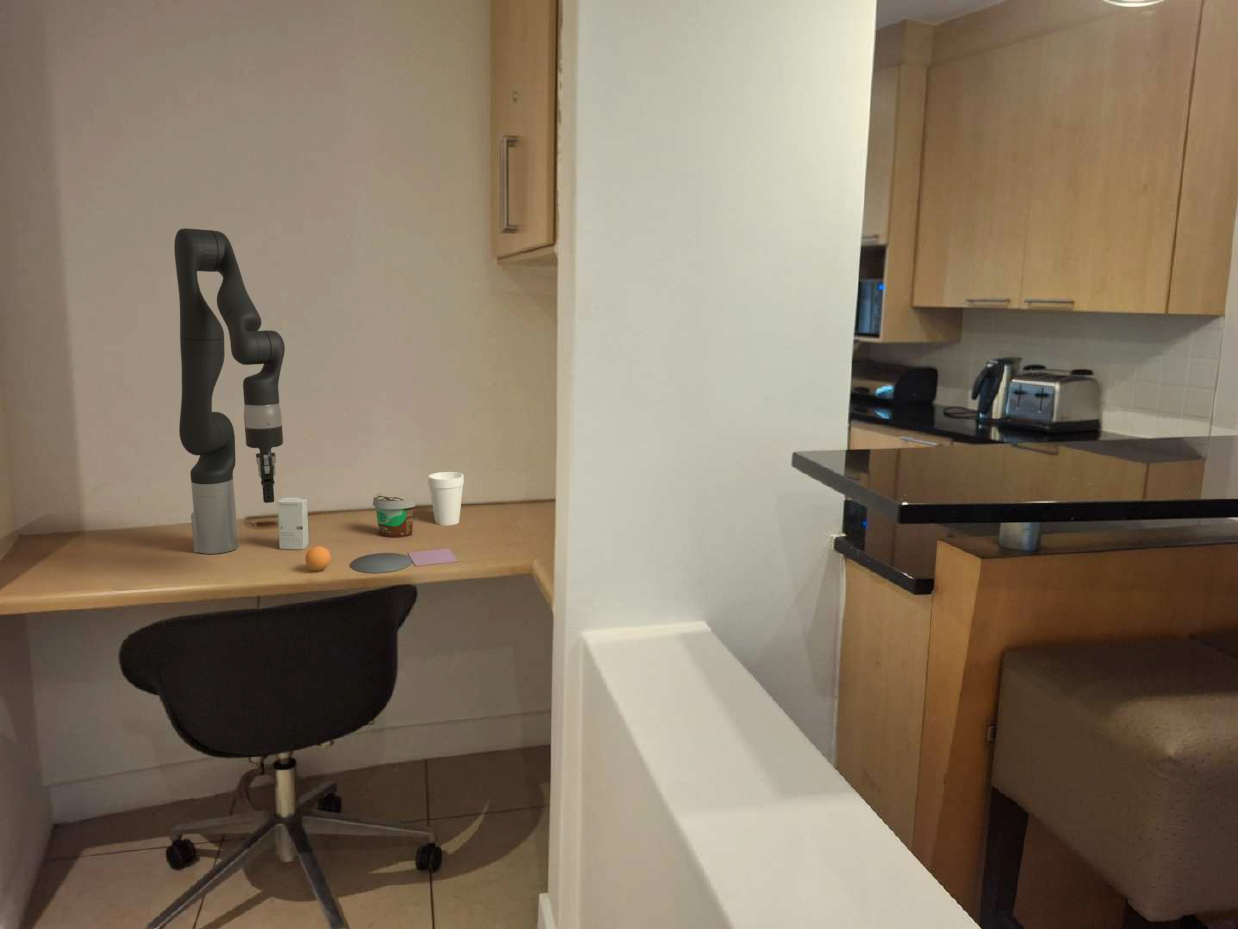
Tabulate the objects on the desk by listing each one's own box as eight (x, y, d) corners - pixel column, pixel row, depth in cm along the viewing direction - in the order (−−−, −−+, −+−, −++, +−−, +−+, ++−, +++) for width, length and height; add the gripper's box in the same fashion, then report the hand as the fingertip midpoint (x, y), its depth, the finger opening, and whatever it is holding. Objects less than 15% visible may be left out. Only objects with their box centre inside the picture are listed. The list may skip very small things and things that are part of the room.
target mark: (354, 576, 199) (354, 575, 199) (347, 557, 211) (347, 556, 211) (417, 569, 204) (417, 568, 204) (406, 551, 217) (406, 550, 217)
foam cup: (431, 517, 246) (430, 471, 243) (465, 517, 247) (464, 471, 244) (428, 527, 237) (426, 480, 234) (463, 526, 238) (462, 479, 235)
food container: (363, 534, 229) (361, 497, 227) (380, 528, 235) (378, 492, 233) (400, 542, 224) (399, 503, 222) (416, 535, 229) (415, 498, 227)
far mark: (415, 566, 206) (415, 565, 206) (408, 553, 215) (408, 552, 215) (458, 561, 210) (458, 560, 210) (449, 549, 219) (449, 548, 219)
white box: (279, 549, 216) (275, 501, 214) (285, 544, 221) (281, 496, 218) (304, 549, 216) (301, 501, 214) (310, 544, 221) (307, 497, 218)
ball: (303, 574, 199) (302, 550, 198) (308, 566, 205) (307, 543, 203) (329, 573, 200) (327, 550, 199) (333, 565, 205) (332, 542, 204)
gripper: (283, 428, 187) (288, 507, 191) (280, 418, 199) (285, 493, 202) (244, 430, 184) (251, 511, 188) (244, 420, 196) (250, 496, 200)
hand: (268, 501), depth 195 cm, fingers closed
